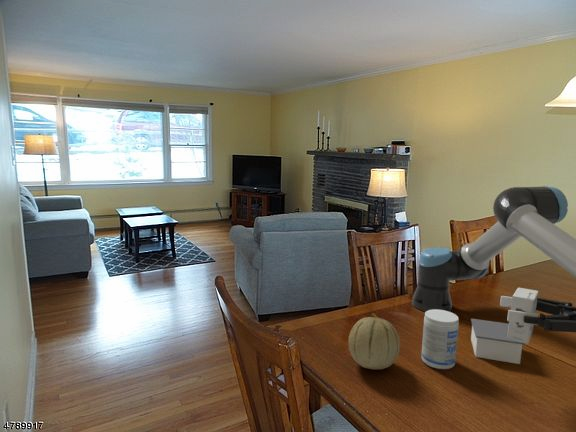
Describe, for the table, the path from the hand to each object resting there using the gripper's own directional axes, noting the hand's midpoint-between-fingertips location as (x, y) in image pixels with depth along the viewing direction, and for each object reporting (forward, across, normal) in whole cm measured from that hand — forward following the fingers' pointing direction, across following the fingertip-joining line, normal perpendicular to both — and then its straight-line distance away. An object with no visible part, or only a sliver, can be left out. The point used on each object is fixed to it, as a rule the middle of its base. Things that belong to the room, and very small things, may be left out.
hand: (504, 307), depth 102 cm
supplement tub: (+15, +6, -22) cm, 27 cm away
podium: (-2, +19, -22) cm, 29 cm away
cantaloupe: (+33, -3, -22) cm, 39 cm away
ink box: (-4, 0, -7) cm, 8 cm away
